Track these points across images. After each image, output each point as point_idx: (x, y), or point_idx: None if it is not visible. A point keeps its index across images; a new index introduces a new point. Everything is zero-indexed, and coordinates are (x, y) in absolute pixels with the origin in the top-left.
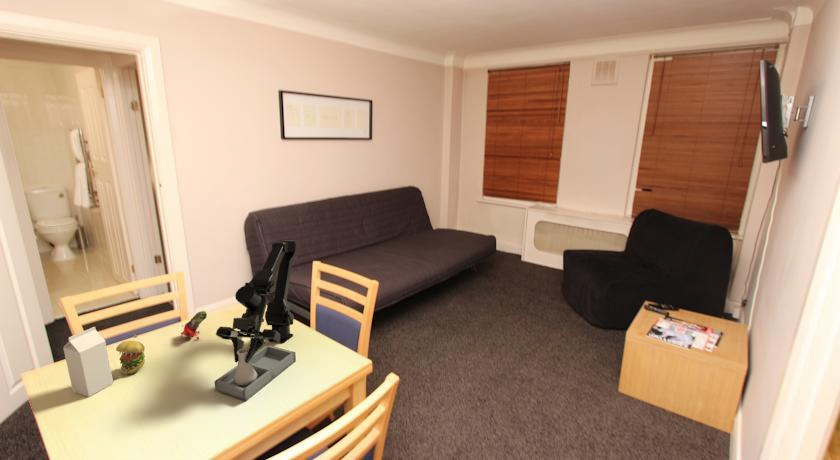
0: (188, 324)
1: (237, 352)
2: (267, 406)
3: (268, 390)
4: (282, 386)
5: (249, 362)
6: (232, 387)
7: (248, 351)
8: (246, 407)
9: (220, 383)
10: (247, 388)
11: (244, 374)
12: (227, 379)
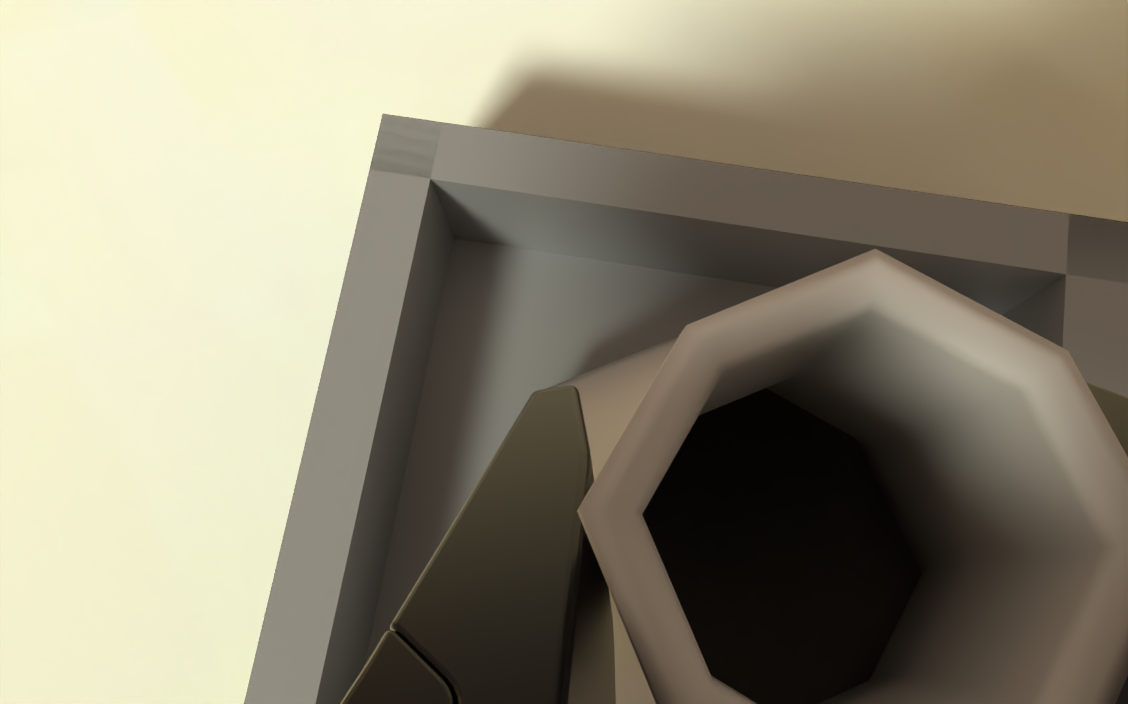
0: None
1: (1013, 330)
2: (61, 187)
3: (217, 514)
4: (30, 672)
5: None
6: (671, 159)
7: (548, 586)
8: (341, 102)
9: (969, 199)
10: (380, 190)
11: (596, 396)
12: None
